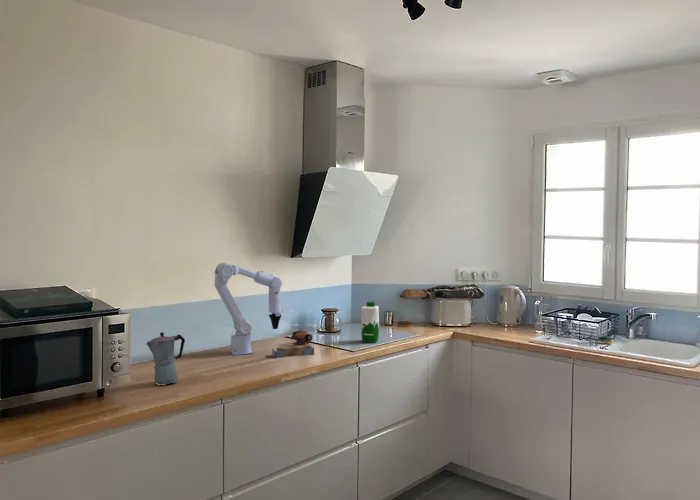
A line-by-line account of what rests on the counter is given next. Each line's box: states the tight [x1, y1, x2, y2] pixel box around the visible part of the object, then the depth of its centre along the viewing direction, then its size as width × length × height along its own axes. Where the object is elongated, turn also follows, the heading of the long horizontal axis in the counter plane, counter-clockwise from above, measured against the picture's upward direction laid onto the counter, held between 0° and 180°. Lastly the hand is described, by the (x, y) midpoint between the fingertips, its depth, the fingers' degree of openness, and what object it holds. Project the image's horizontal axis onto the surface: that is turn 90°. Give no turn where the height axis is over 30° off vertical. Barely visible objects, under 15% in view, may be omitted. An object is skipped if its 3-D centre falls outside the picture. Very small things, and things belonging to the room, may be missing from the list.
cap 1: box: [271, 348, 286, 359], centre depth 265 cm, size 5×7×3 cm
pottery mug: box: [290, 330, 313, 346], centre depth 289 cm, size 12×10×8 cm
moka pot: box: [145, 332, 186, 385], centre depth 223 cm, size 10×15×20 cm, turn 135°
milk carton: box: [360, 301, 380, 344], centre depth 294 cm, size 9×9×20 cm
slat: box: [276, 344, 310, 358], centre depth 267 cm, size 15×4×4 cm, turn 109°
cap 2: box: [303, 344, 315, 356], centre depth 270 cm, size 5×7×3 cm
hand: (275, 328), depth 280 cm, fingers closed
